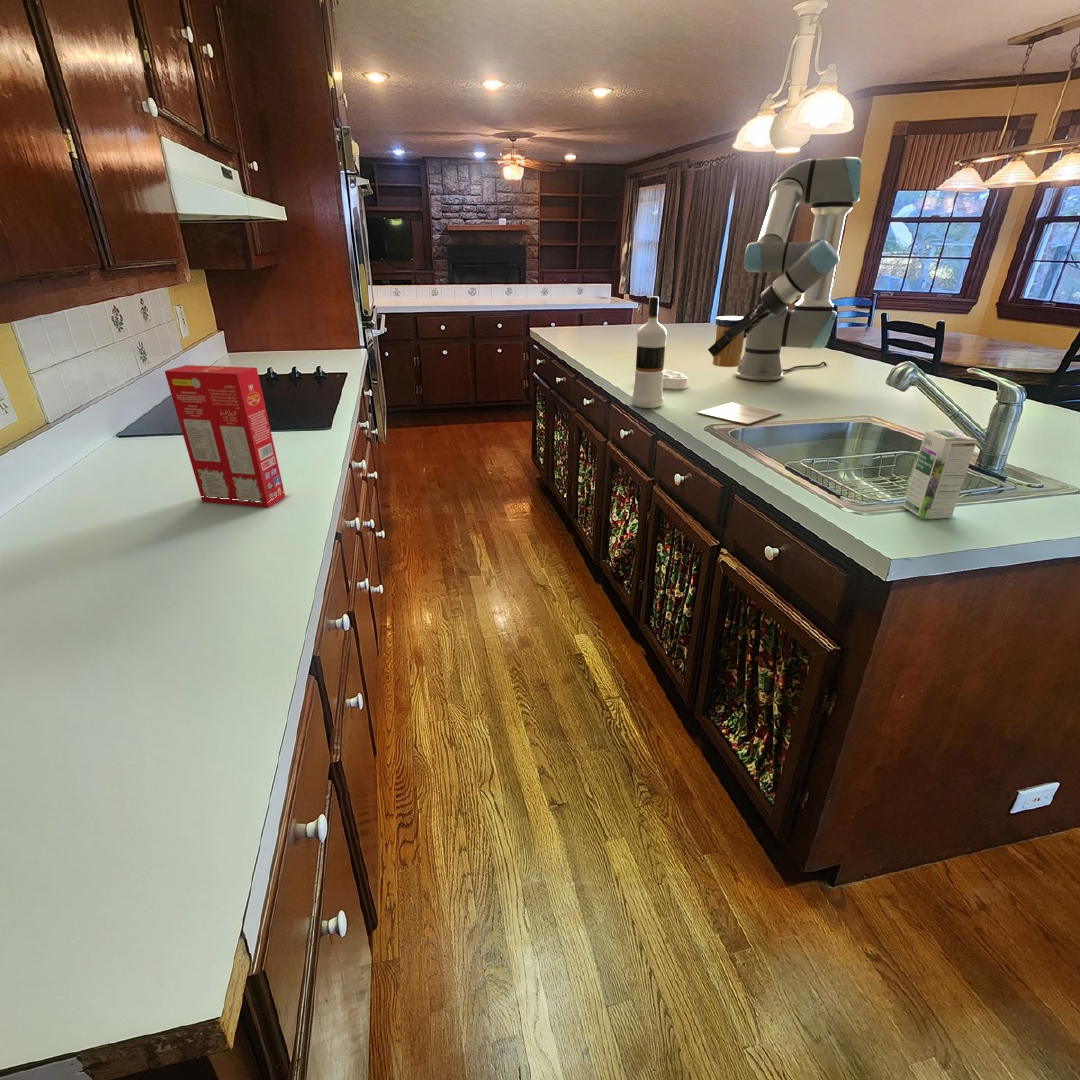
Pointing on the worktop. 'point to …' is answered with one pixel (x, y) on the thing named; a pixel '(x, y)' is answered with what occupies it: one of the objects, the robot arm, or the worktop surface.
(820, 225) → the robot arm
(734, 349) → the jar
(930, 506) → the syrup box
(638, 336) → the vodka
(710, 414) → the trivet
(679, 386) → the white brass knuckles
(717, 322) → the lid
